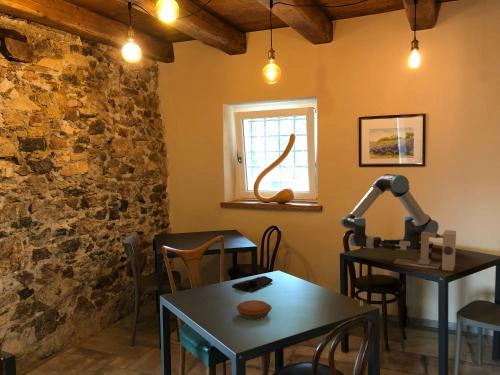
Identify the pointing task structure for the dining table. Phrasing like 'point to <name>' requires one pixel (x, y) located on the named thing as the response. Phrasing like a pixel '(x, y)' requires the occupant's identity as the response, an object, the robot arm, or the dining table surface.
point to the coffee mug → (429, 249)
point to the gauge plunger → (438, 236)
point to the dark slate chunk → (252, 284)
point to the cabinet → (448, 250)
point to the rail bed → (416, 263)
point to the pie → (253, 309)
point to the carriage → (425, 247)
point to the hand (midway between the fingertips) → (408, 245)
